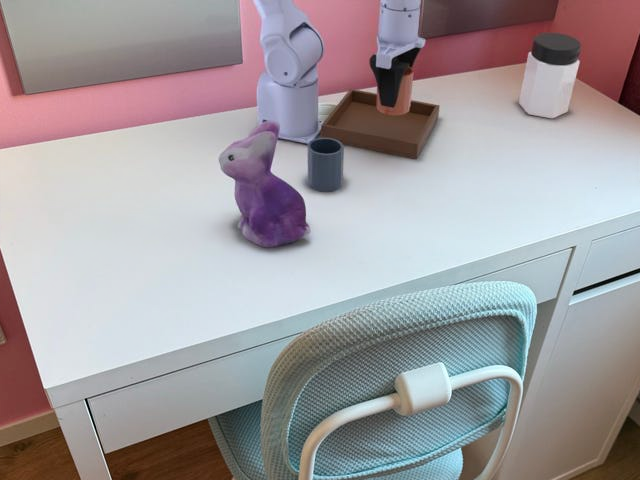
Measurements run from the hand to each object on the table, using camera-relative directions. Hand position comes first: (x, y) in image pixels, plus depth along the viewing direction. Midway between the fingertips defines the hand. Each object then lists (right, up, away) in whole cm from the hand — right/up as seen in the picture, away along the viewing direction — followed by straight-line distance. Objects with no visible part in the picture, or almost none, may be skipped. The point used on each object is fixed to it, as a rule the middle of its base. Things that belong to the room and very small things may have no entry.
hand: (393, 98), depth 111 cm
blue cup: (-10, -14, -2) cm, 17 cm away
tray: (-2, -1, +11) cm, 12 cm away
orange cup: (0, -1, +1) cm, 2 cm away
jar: (+28, +6, +22) cm, 36 cm away
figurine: (-17, -23, -12) cm, 31 cm away
